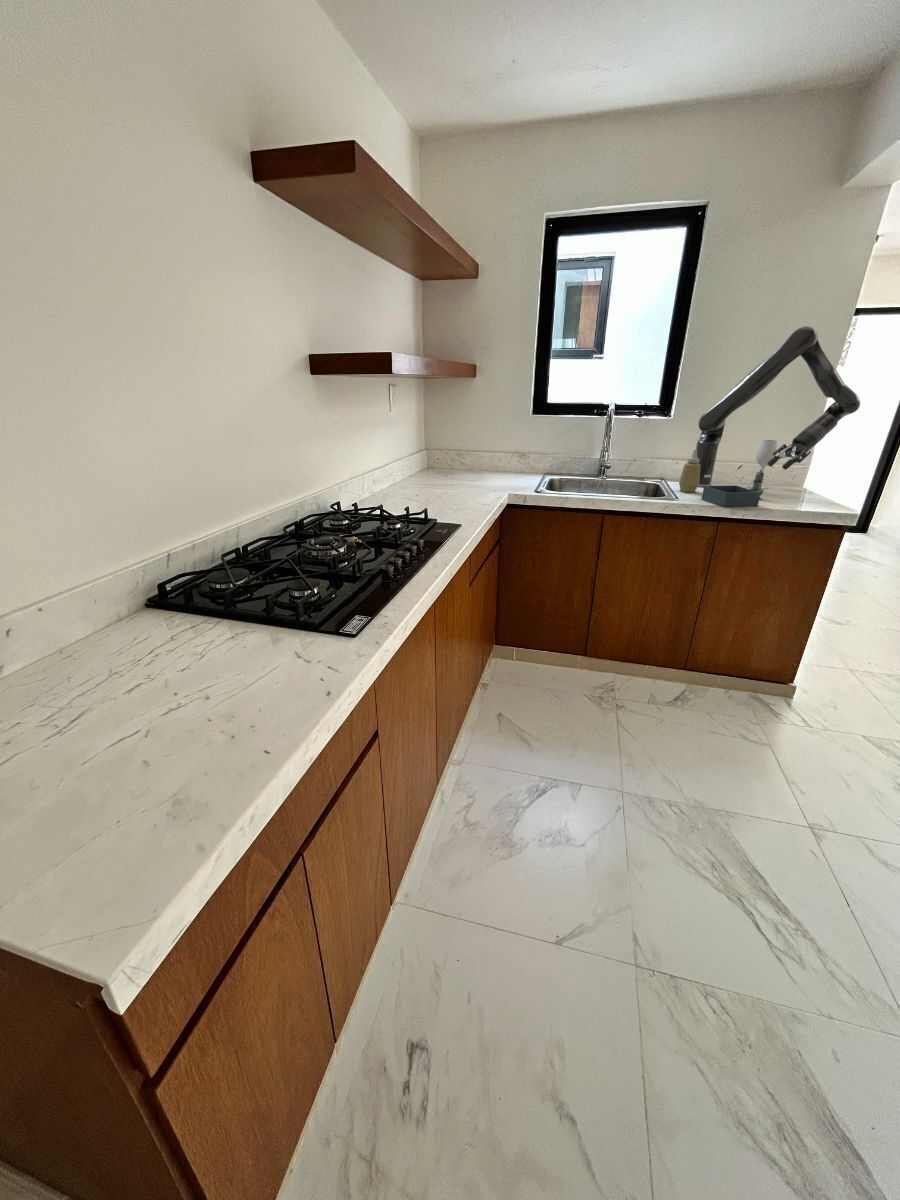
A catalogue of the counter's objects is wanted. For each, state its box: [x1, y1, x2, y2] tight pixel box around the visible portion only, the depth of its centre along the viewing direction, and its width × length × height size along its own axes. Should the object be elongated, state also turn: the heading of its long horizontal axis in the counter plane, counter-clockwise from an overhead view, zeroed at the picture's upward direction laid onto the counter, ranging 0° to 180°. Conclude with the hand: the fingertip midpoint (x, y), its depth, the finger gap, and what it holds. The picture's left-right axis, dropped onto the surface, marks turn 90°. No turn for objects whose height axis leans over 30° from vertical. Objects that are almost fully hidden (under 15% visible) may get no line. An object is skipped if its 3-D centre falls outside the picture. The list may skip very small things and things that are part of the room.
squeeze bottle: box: [678, 449, 701, 494], centre depth 219 cm, size 8×8×18 cm
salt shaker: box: [750, 469, 765, 501], centre depth 207 cm, size 6×6×12 cm
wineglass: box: [749, 439, 778, 490], centre depth 230 cm, size 8×8×21 cm
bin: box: [701, 485, 762, 508], centre depth 200 cm, size 15×14×6 cm
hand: (776, 466), depth 205 cm, fingers open, 8 cm apart
